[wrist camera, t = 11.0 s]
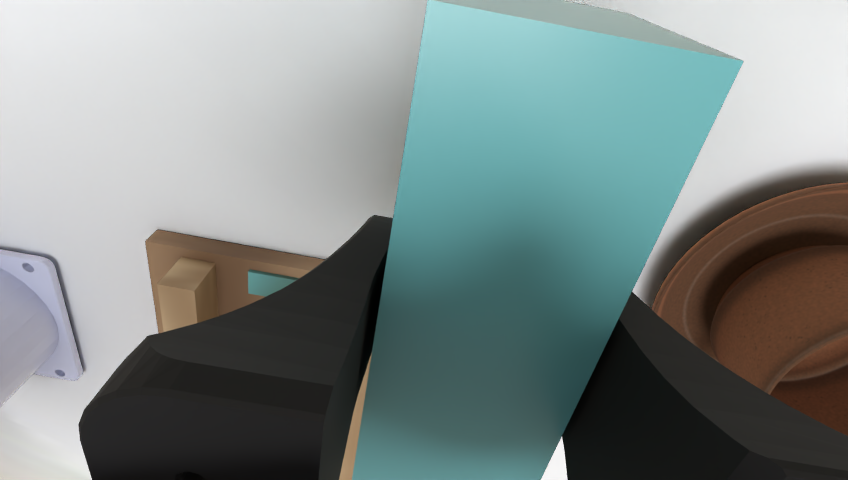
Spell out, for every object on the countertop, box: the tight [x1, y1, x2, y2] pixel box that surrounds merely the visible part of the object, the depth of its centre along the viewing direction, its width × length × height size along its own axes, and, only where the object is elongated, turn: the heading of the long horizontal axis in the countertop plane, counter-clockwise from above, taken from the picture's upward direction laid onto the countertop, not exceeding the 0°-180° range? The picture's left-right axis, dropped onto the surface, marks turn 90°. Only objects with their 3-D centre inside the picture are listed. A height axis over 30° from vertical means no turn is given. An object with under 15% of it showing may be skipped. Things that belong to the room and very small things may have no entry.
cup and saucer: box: [652, 183, 848, 436], centre depth 19 cm, size 12×12×6 cm
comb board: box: [145, 230, 372, 480], centre depth 26 cm, size 20×17×3 cm
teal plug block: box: [352, 0, 743, 480], centre depth 11 cm, size 4×11×5 cm, turn 170°
